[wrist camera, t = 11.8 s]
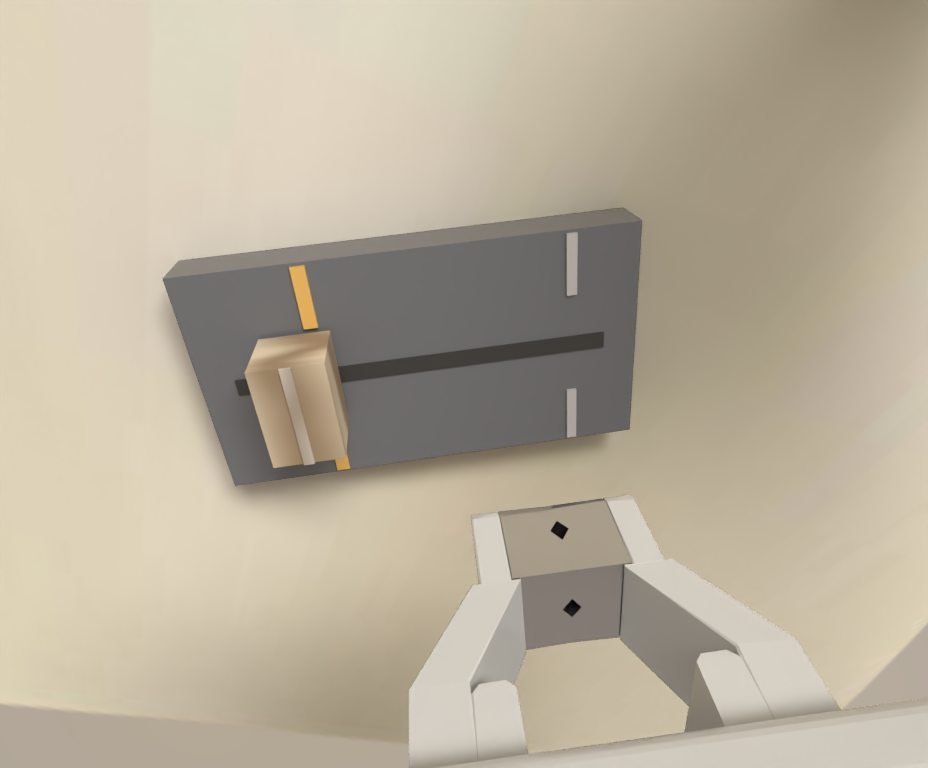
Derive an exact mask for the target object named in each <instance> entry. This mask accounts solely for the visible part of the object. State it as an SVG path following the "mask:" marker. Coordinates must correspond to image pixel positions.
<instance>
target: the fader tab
mask: <svg viewBox="0 0 928 768" xmlns="http://www.w3.org/2000/svg"><path fill="white" fill-rule="evenodd" d="M245 377H246V380H247V383H248V387H249V390H250V393H251V396H252V400H253V403H254V406H255V409H256V413H257V416H258V419H259V422H260V426H261V429H262V432H263V435H264V439H265V442H266V445H267V449H268V452H269V455H270V458H271V462H272V465H273V468H278V467H285V466H292V465H299V464H304V465H310V464H315V462H320V461H327V460H334V459H341V458H346V453H347V440H348V428H349V416H348V411H347V406H346V402H345V397H344V393H343V388H342V383H341V379H340V374H339V370H338V365H337V360H336V356H335V351H334V346H333V342H332V337H331V333H330V330H328V331H320V332H313V333H305V334H297V335H289V336H281V337H274V338H266V339H258V341H257V344H256V346H255V349H254V351H253V354H252V356H251V359H250V361H249V363H248V366H247V368H246V371H245Z"/></svg>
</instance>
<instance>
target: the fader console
mask: <svg viewBox="0 0 928 768" xmlns="http://www.w3.org/2000/svg"><path fill="white" fill-rule="evenodd" d="M641 231H642V220H641V219H639V218H638V217H636V216H635V215H633V214H632V213H630V212H629V211H628V210H626V209H625V208H616V209H608V210H599V211H591V212H583V213H574V214H566V215H558V216H549V217H541V218H533V219H524V220H516V221H507V222H499V223H491V224H482V225H474V226H466V227H457V228H449V229H441V230H432V231H424V232H416V233H407V234H399V235H390V236H382V237H374V238H365V239H357V240H349V241H340V242H332V243H324V244H315V245H307V246H299V247H290V248H282V249H274V250H265V251H257V252H248V253H240V254H232V255H223V256H215V257H207V258H198V259H190V260H182V261H178V262H177V263H176V264H175V266H174V267H173V268H172V269H171V270H170V271H169V272H168V273H167V274H166V275H165V276H164V278H163V282H164V285H165V287H166V290H167V293H168V296H169V299H170V302H171V304H172V307H173V310H174V313H175V316H176V319H177V321H178V324H179V327H180V330H181V333H182V336H183V338H184V341H185V344H186V347H187V350H188V353H189V355H190V358H191V361H192V364H193V367H194V370H195V372H196V375H197V378H198V381H199V384H200V387H201V390H202V392H203V395H204V398H205V401H206V404H207V407H208V409H209V412H210V415H211V418H212V421H213V424H214V426H215V429H216V432H217V435H218V438H219V441H220V443H221V446H222V449H223V452H224V455H225V458H226V460H227V463H228V466H229V469H230V472H231V475H232V477H233V480H234V483H235V486H237V485H244V484H251V483H258V482H265V481H272V480H279V479H286V478H293V477H300V476H307V475H314V474H321V473H328V472H335V471H342V470H349V469H356V468H363V467H370V466H377V465H384V464H391V463H398V462H405V461H412V460H419V459H426V458H433V457H440V456H447V455H454V454H461V453H468V452H475V451H482V450H489V449H496V448H503V447H510V446H517V445H524V444H531V443H538V442H545V441H552V440H559V439H566V438H573V437H580V436H587V435H594V434H601V433H608V432H615V431H622V430H629V429H630V413H631V396H632V380H633V363H634V347H635V330H636V314H637V297H638V281H639V264H640V248H641ZM328 330H330V333H331V337H332V342H333V346H334V351H335V356H336V360H337V365H338V370H339V374H340V379H341V383H342V388H343V393H344V397H345V402H346V406H347V411H348V416H349V428H348V440H347V453H346V458H341V459H334V460H327V461H320V462H315V464H310V465H304V464H299V465H292V466H285V467H278V468H273V465H272V462H271V458H270V455H269V452H268V449H267V445H266V442H265V439H264V435H263V432H262V429H261V426H260V422H259V419H258V416H257V413H256V409H255V406H254V403H253V400H252V396H251V393H250V390H249V387H248V383H247V380H246V377H245V371H246V368H247V366H248V363H249V361H250V359H251V356H252V354H253V351H254V349H255V346H256V344H257V341H258V339H266V338H274V337H281V336H289V335H297V334H305V333H313V332H320V331H328Z"/></svg>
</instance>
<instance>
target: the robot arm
mask: <svg viewBox="0 0 928 768" xmlns="http://www.w3.org/2000/svg"><path fill="white" fill-rule="evenodd" d="M471 525H472V533H473V541H474V550H475V558H476V566H477V575H478V583H479V584H478V585H472V586H471V587H470V589H469V591H468V592H467V594H466V596H465V598H464V599H463V601H462V603H461V604H460V606H459V608H458V609H457V611H456V613H455V614H454V616H453V618H452V619H451V621H450V623H449V624H448V626H447V628H446V629H445V631H444V633H443V634H442V636H441V638H440V639H439V641H438V643H437V645H436V646H435V648H434V650H433V651H432V653H431V655H430V656H429V658H428V660H427V661H426V663H425V665H424V666H423V668H422V670H421V671H420V673H419V675H418V676H417V678H416V680H415V681H414V683H413V685H412V686H411V688H410V690H409V768H928V698H923V699H917V700H909V701H902V702H895V703H888V704H881V705H873V706H866V707H859V708H852V709H845V710H841V709H840V707H839V706H838V704H837V703H836V701H835V699H834V698H833V696H832V695H831V693H830V692H829V690H828V688H827V687H826V685H825V684H824V682H823V681H822V679H821V677H820V676H819V674H818V673H817V671H816V670H815V668H814V666H813V665H812V663H811V662H810V660H809V659H808V657H807V655H806V654H805V652H804V651H803V649H802V648H801V646H800V644H799V643H798V641H797V640H796V638H794V637H793V636H791V635H790V634H788V633H786V632H785V631H783V630H782V629H780V628H779V627H777V626H776V625H774V624H773V623H771V622H770V621H768V620H766V619H765V618H763V617H762V616H760V615H759V614H757V613H756V612H754V611H753V610H751V609H749V608H748V607H746V606H745V605H743V604H742V603H740V602H739V601H737V600H736V599H734V598H733V597H731V596H729V595H728V594H726V593H725V592H723V591H722V590H720V589H719V588H717V587H716V586H714V585H712V584H711V583H709V582H708V581H706V580H705V579H703V578H702V577H700V576H699V575H697V574H696V573H694V572H692V571H691V570H689V569H688V568H686V567H685V566H683V565H682V564H680V563H679V562H677V561H675V560H674V559H665V560H664V558H663V556H662V554H661V552H660V550H659V548H658V546H657V544H656V541H655V539H654V537H653V535H652V533H651V531H650V529H649V527H648V525H647V523H646V521H645V519H644V517H643V515H642V513H641V511H640V509H639V507H638V505H637V503H636V501H635V499H634V497H632V496H631V495H630V494H629V495H622V496H615V497H608V498H603V499H596V500H589V501H582V502H574V503H567V504H560V505H553V506H547V507H537V508H528V509H519V510H509V511H500V512H498V513H487V514H477V515H471ZM617 637H620V640H621V641H622V642H623V643H624V644H625V645H626V646H627V647H628V648H629V649H630V650H631V651H632V652H633V653H634V654H635V655H636V656H637V657H639V658H640V659H641V660H642V661H643V662H644V663H645V664H646V665H647V666H648V667H649V668H650V669H651V670H652V671H653V672H654V673H655V674H656V675H657V676H658V677H659V678H660V679H661V680H662V681H663V682H664V683H665V684H666V685H667V686H668V687H669V688H670V689H671V690H672V691H673V692H675V693H676V694H677V695H678V696H679V697H680V698H681V699H682V700H683V701H684V702H685V703H686V704H687V705H688V706H689V709H688V715H687V721H686V726H685V732H684V733H677V734H670V735H663V736H655V737H648V738H641V739H634V740H627V741H620V742H613V743H606V744H598V745H591V746H584V747H577V748H570V749H563V750H556V751H549V752H542V753H534V754H528V749H527V743H526V738H525V732H524V727H523V721H522V716H521V710H520V705H519V699H518V694H517V688H516V686H514V683H515V681H516V678H517V675H518V673H519V670H520V668H521V665H522V663H523V660H524V657H525V655H526V650H529V649H535V648H541V647H547V646H553V645H559V644H565V643H571V642H580V641H589V640H598V639H607V638H617Z"/></svg>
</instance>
